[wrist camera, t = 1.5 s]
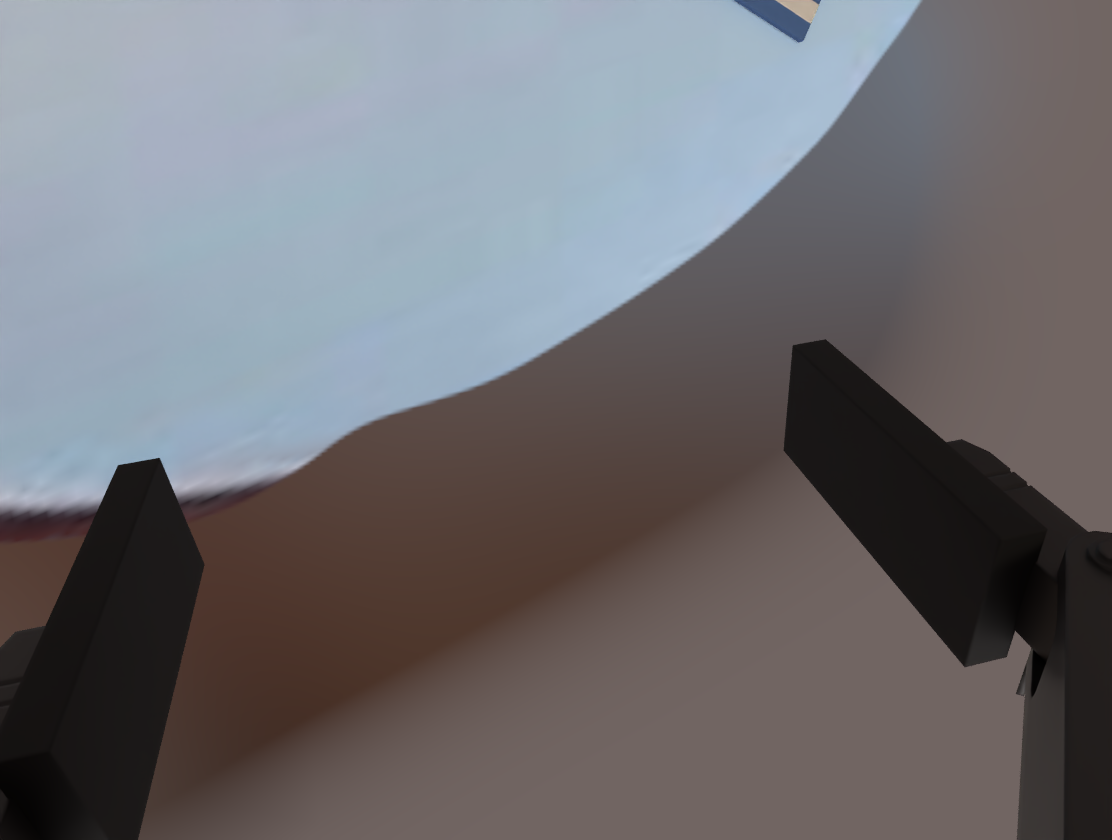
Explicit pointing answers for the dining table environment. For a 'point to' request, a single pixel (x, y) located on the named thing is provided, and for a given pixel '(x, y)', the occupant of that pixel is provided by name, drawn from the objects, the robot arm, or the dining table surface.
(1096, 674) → the robot arm
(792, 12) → the tea towel
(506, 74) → the dining table surface
